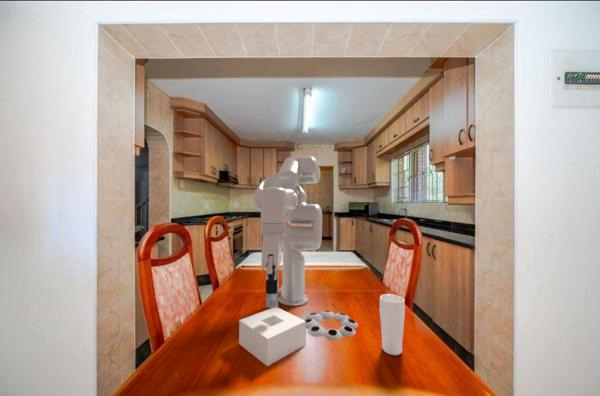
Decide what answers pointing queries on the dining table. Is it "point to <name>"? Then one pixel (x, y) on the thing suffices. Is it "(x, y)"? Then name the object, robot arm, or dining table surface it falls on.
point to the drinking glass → (392, 322)
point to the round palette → (340, 332)
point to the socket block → (272, 334)
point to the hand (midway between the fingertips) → (272, 290)
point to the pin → (273, 295)
